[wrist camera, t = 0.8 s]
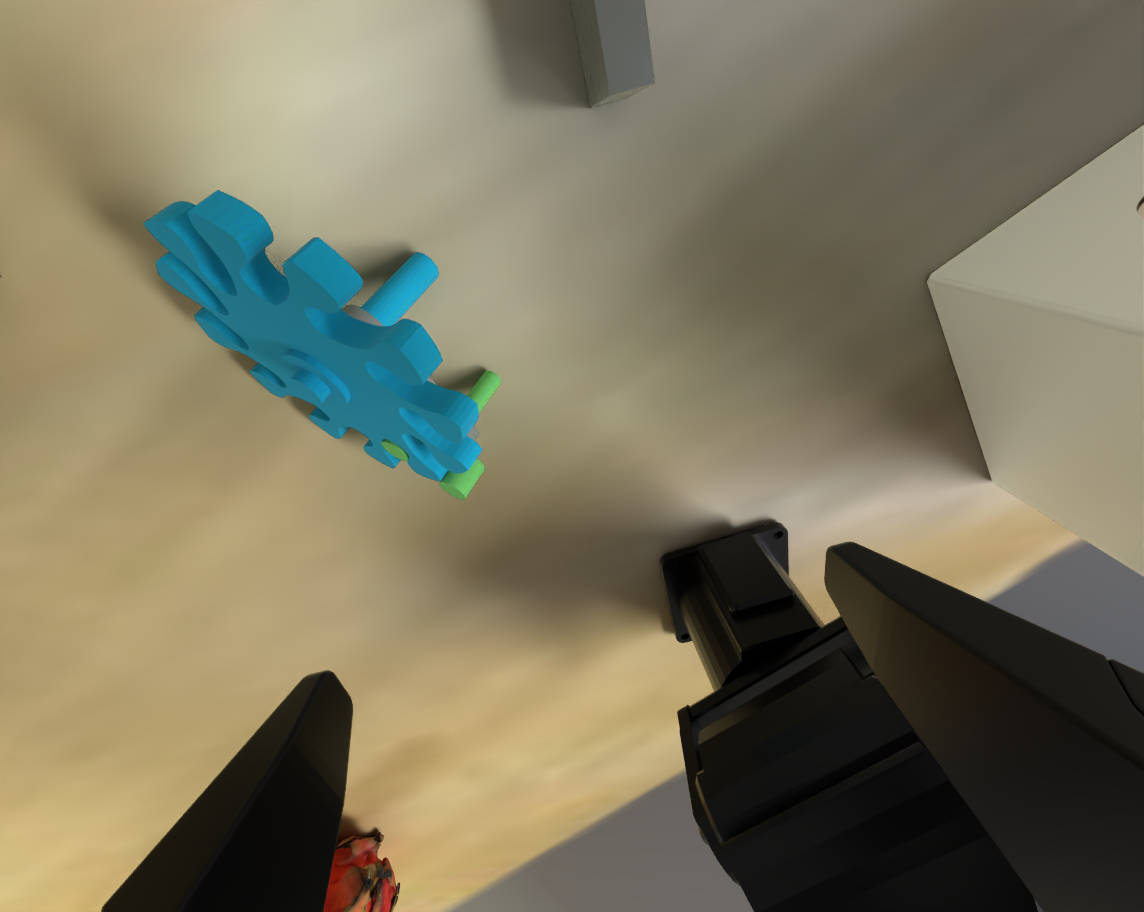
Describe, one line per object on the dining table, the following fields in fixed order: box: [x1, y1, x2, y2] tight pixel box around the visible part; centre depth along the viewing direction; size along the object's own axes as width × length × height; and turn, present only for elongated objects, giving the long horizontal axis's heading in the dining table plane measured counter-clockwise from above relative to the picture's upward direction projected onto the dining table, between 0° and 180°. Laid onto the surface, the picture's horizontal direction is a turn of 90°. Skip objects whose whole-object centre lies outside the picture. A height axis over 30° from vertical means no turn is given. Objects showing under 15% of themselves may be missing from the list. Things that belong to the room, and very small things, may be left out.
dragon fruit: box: [323, 832, 400, 912], centre depth 32 cm, size 8×8×12 cm
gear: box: [143, 190, 501, 500], centre depth 16 cm, size 11×6×10 cm
